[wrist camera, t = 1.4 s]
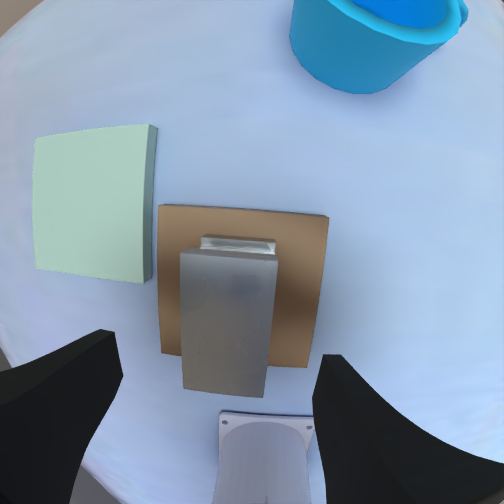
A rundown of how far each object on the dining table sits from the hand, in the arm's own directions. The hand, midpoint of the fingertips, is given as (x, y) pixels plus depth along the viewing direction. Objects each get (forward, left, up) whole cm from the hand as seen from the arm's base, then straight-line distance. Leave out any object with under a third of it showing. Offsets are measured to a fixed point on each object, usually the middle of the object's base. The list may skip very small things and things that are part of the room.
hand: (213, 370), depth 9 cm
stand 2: (0, 0, -10) cm, 10 cm away
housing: (0, 0, -9) cm, 9 cm away
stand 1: (+5, +11, -10) cm, 16 cm away
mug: (+18, -8, -10) cm, 22 cm away
